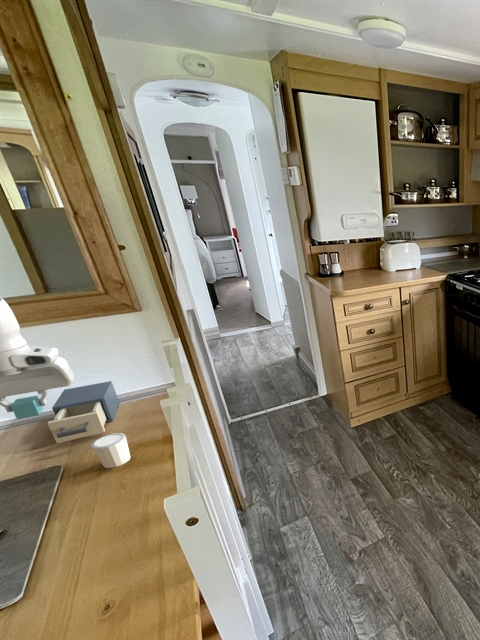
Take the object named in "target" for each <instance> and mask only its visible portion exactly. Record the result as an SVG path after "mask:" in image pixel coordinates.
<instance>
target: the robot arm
mask: <svg viewBox="0 0 480 640" xmlns="http://www.w3.org/2000/svg"><path fill="white" fill-rule="evenodd" d="M59 355H60V351H59V349H58V348H57V347H49V346H37V345H29V344H28V341H26V339H25V338H24V337H23V336H22V333H21V326H20V324H19V322H18V318H16V315H15V314H14V311H13V310H12V308H11V307H10V306H9V304H8V302H7V301H6V300H5V299H4V298H2V297H1V296H0V406H1V407H3V408H4V409H5V411H6V413H12V412H13V410H12V408H11V405H12V403H13V402H11V401H8V399H6V398H7V397H12V396H17V395H25V394H28V393H34V392H37V394H38V396H39V395H41V396H40V397H39V398H38V399H37V400H36V401H35V402H36V404H37V406H38V407H40V406H43V407H45V406H47V405H48V400H47V395H48V394H49V390H53V389H59V388H66V387H69V386H72V384H73V383H74V382H75V380H76V375H75V373H74V371H73V369H72V367H71V365H70V363H69V362H68V361H67V360H66V359H65V358H63V357H61V356H59ZM13 413H14V412H13Z"/></svg>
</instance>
